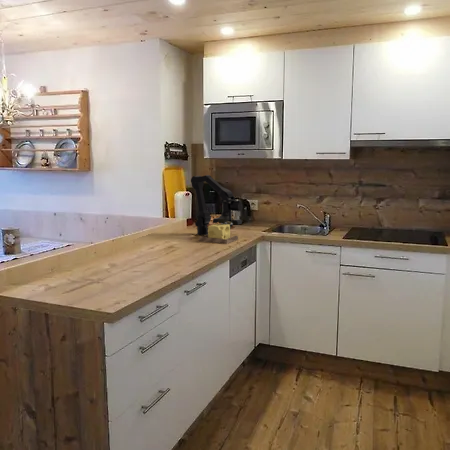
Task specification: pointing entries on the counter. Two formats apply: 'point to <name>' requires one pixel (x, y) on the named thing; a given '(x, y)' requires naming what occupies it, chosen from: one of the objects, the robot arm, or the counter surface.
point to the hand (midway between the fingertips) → (227, 234)
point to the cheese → (219, 231)
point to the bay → (217, 239)
